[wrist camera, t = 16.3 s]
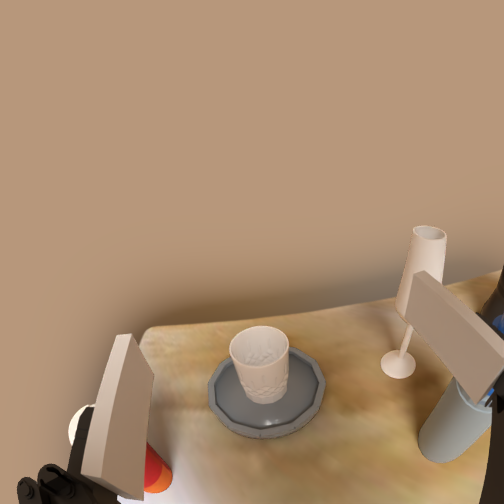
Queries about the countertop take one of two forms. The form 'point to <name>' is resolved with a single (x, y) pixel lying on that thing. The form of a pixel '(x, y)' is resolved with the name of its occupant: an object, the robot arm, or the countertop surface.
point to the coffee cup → (155, 467)
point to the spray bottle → (455, 421)
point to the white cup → (261, 362)
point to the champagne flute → (418, 259)
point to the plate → (274, 414)
